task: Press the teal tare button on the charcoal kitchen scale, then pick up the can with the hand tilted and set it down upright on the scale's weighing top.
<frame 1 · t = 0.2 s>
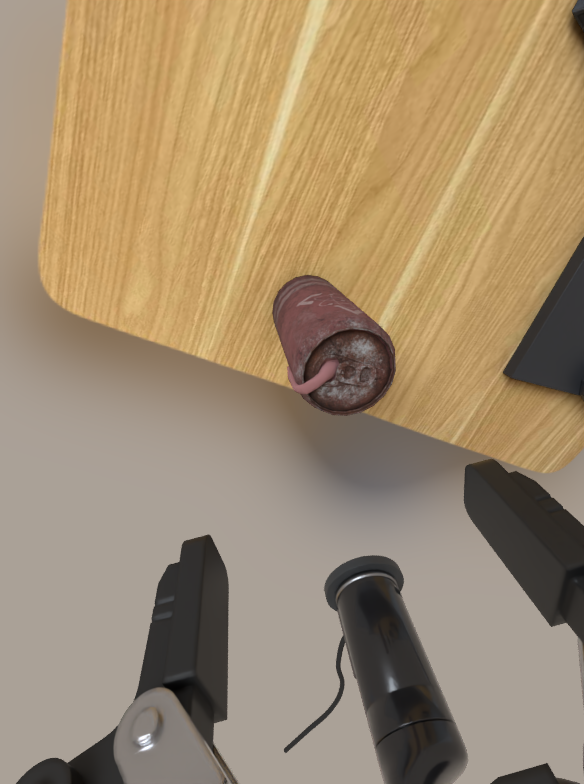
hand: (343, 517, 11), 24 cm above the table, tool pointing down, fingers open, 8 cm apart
can: (303, 309, 33), on the table
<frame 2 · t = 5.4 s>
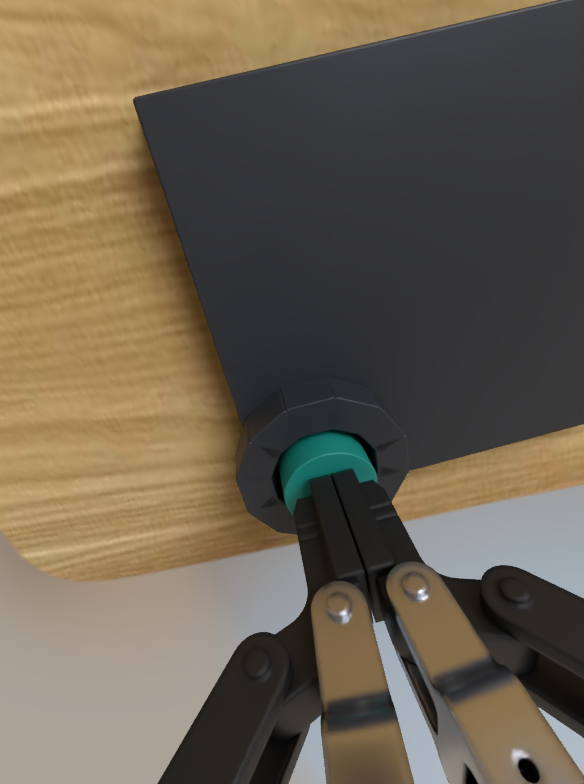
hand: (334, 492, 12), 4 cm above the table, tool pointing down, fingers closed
tare button: (326, 476, 13), point 3 cm above the table, slide at -0.2 cm, touching gripper
scale: (431, 293, 13), on the table
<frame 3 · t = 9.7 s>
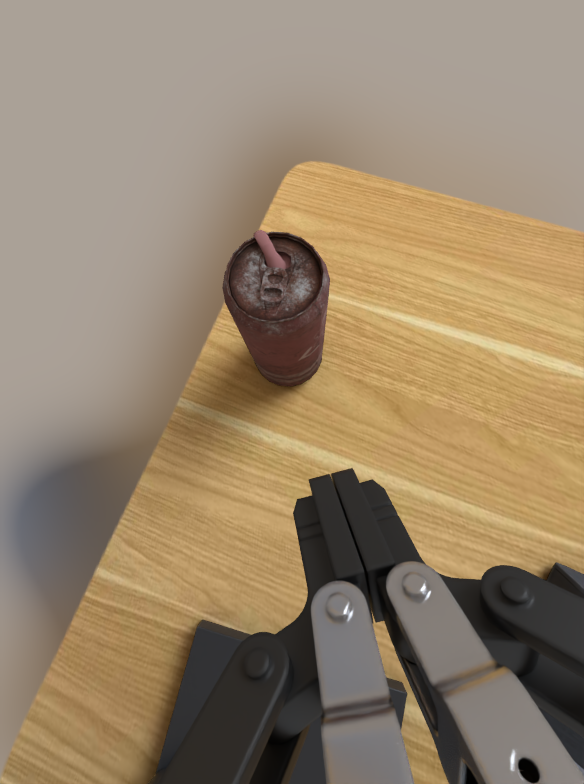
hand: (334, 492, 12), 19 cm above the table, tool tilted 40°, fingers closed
can: (288, 354, 33), on the table
scale: (276, 753, 27), on the table
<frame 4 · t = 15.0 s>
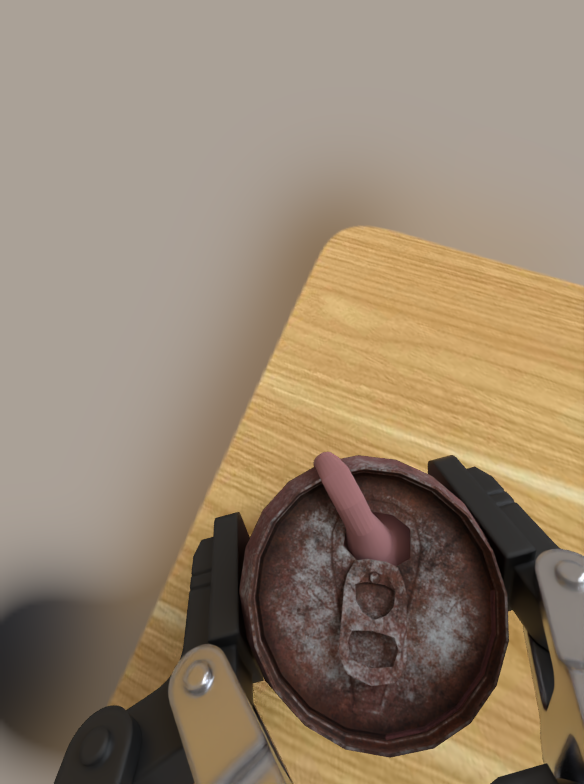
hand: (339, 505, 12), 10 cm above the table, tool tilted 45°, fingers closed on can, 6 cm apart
can: (332, 529, 21), on the table, touching gripper
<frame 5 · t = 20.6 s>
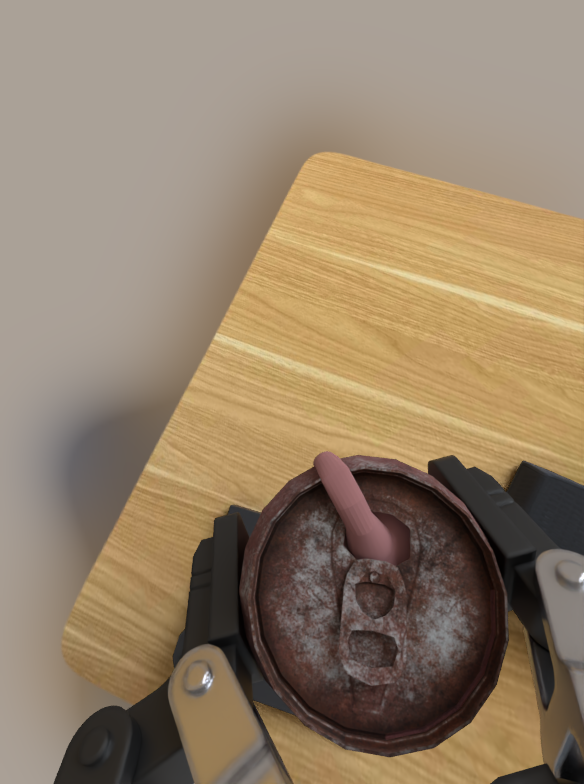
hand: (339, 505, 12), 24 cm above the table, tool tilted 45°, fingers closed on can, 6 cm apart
can: (331, 529, 21), point 14 cm above the table, touching gripper
scale: (293, 608, 32), on the table
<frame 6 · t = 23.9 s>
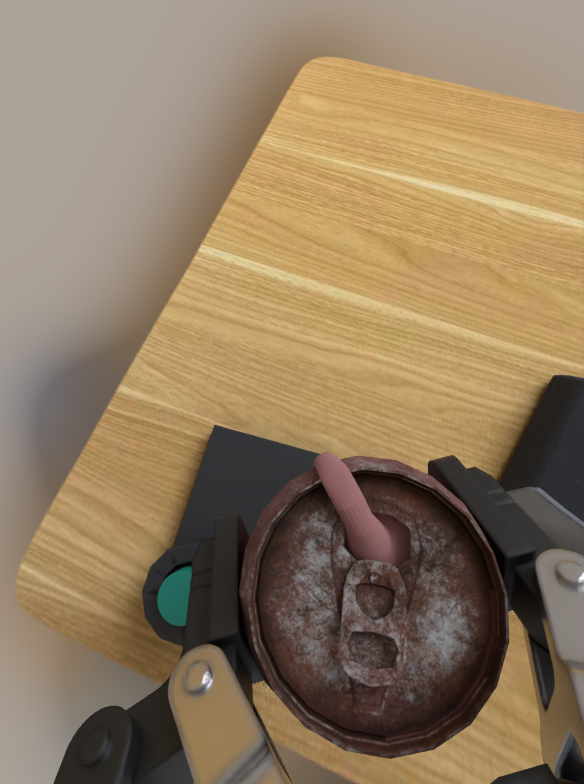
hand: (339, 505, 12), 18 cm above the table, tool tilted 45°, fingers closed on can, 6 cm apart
can: (331, 530, 21), point 7 cm above the table, touching gripper
tare button: (185, 594, 24), point 3 cm above the table, slide at 0.1 cm
scale: (287, 542, 28), on the table
when the fingers open (12 cm above the table, at t = 26.5 s): can stays where it is, resting on scale.
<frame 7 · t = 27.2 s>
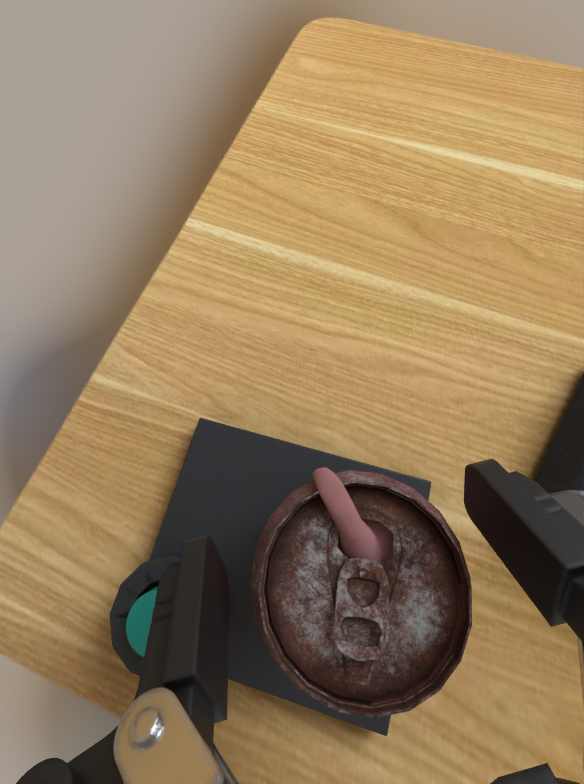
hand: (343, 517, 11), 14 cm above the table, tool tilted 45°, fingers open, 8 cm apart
can: (330, 531, 23), point 1 cm above the table, touching scale
tare button: (161, 619, 20), point 3 cm above the table, slide at 0.1 cm
scale: (283, 554, 24), on the table
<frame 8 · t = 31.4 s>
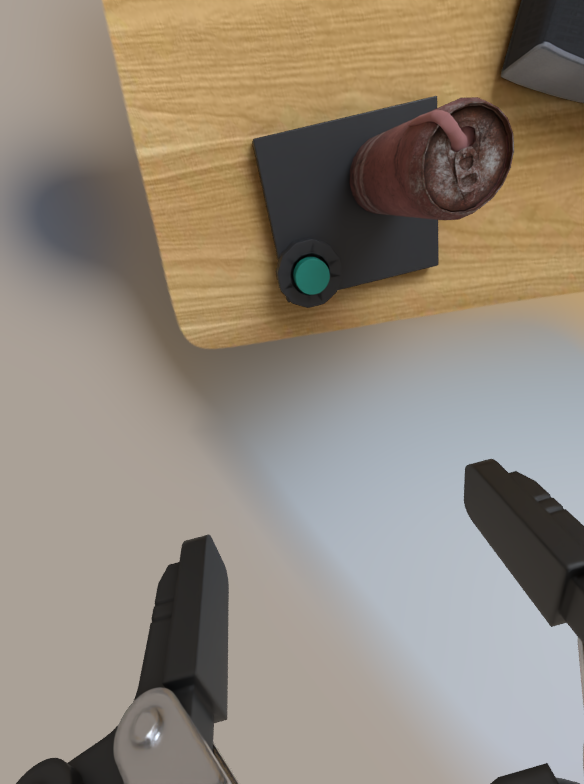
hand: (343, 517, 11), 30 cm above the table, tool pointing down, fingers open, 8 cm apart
can: (378, 174, 33), point 1 cm above the table, touching scale
tare button: (311, 275, 34), point 3 cm above the table, slide at 0.1 cm
scale: (351, 208, 35), on the table
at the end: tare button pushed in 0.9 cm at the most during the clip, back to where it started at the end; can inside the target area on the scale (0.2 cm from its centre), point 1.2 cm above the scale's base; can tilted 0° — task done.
